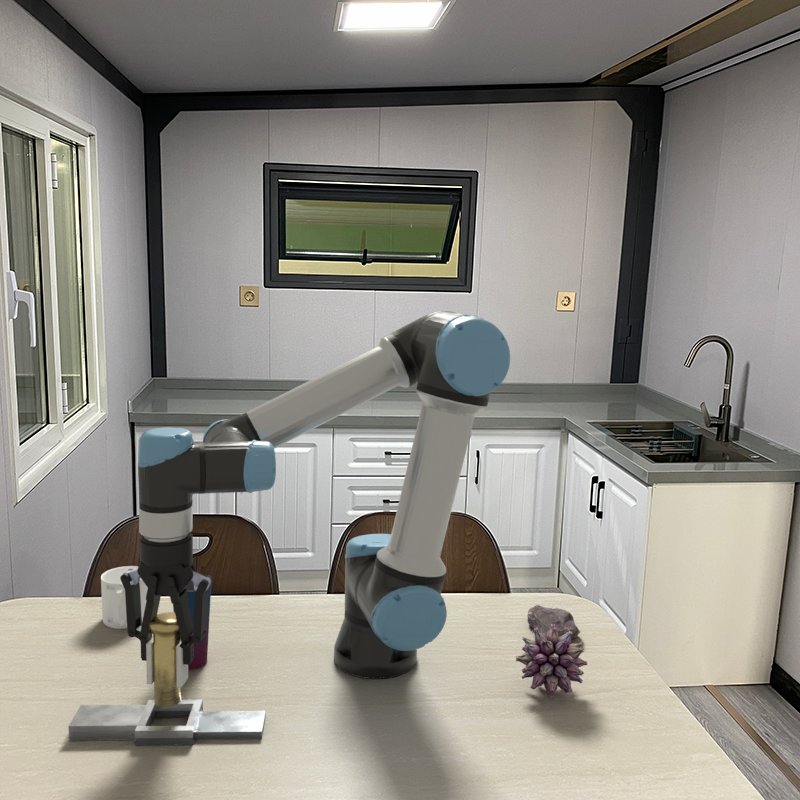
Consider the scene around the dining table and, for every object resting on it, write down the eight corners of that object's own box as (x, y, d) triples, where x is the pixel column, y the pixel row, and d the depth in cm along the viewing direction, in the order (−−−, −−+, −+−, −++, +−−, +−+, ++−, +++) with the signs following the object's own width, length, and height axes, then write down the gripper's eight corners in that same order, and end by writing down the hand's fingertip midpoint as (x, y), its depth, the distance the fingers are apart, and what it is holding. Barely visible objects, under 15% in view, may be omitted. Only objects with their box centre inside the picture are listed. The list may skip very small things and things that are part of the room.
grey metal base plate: (266, 712, 127) (266, 698, 127) (260, 744, 119) (260, 729, 118) (84, 714, 125) (83, 700, 125) (65, 746, 117) (65, 731, 116)
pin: (190, 692, 123) (190, 614, 121) (177, 710, 118) (177, 629, 116) (158, 689, 124) (157, 611, 122) (144, 707, 119) (143, 626, 117)
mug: (115, 607, 163) (114, 564, 161) (157, 611, 162) (156, 567, 160) (86, 634, 151) (84, 588, 150) (132, 638, 150) (130, 591, 149)
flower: (562, 721, 127) (567, 652, 125) (501, 692, 135) (504, 627, 133) (597, 693, 136) (603, 628, 134) (538, 668, 144) (542, 606, 142)
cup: (201, 674, 138) (200, 593, 135) (165, 669, 139) (164, 588, 137) (218, 655, 145) (217, 578, 142) (183, 651, 146) (182, 574, 143)
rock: (552, 617, 165) (554, 596, 164) (585, 641, 155) (586, 619, 154) (518, 623, 162) (519, 602, 161) (549, 648, 152) (550, 626, 151)
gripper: (230, 529, 119) (230, 673, 123) (122, 521, 121) (125, 663, 125) (213, 546, 112) (213, 699, 116) (98, 537, 114) (102, 688, 118)
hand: (167, 680), depth 120 cm, fingers closed on pin, 4 cm apart
